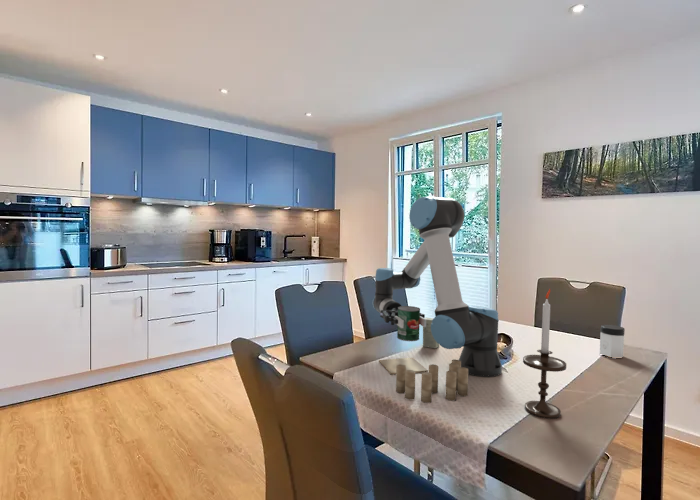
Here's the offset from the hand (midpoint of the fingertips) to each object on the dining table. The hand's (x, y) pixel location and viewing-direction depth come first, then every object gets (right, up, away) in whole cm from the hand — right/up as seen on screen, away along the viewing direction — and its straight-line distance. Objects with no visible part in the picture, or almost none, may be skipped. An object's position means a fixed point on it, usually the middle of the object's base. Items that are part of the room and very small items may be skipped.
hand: (413, 323), depth 134 cm
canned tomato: (-1, -6, +5) cm, 8 cm away
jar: (+86, -18, +25) cm, 91 cm away
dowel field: (+3, -19, -13) cm, 23 cm away
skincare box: (+13, -17, +35) cm, 41 cm away
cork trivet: (-3, -18, +9) cm, 20 cm away
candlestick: (+32, -20, -25) cm, 45 cm away
